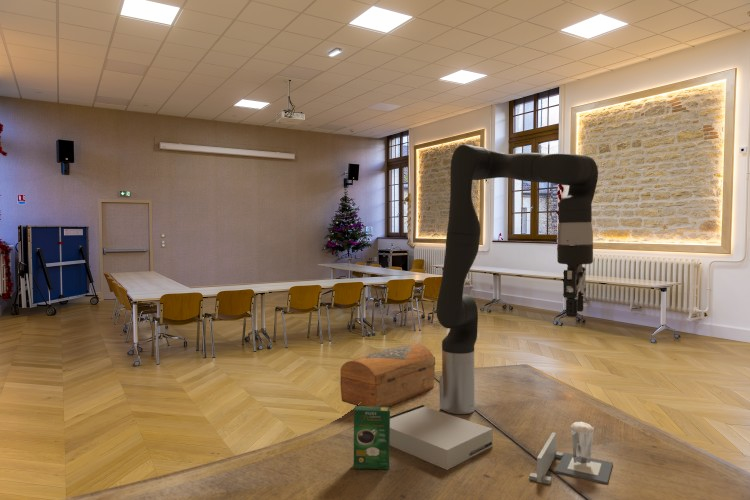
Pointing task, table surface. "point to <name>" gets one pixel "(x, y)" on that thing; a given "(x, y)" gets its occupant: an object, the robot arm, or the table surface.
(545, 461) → the divider wall
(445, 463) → the disc drive
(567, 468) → the mat
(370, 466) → the coffee box
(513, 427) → the table surface
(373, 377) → the wooden box
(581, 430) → the milkshake
